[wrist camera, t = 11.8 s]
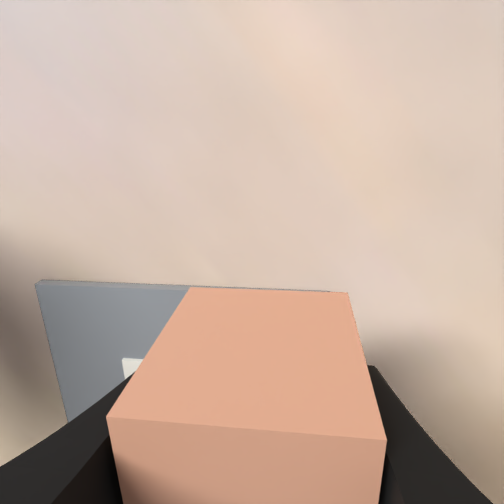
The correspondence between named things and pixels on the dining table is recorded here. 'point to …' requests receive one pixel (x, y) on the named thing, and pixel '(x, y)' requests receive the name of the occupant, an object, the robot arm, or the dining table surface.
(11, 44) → the dining table surface
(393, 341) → the dining table surface
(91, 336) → the board
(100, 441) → the robot arm
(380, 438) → the terracotta block
